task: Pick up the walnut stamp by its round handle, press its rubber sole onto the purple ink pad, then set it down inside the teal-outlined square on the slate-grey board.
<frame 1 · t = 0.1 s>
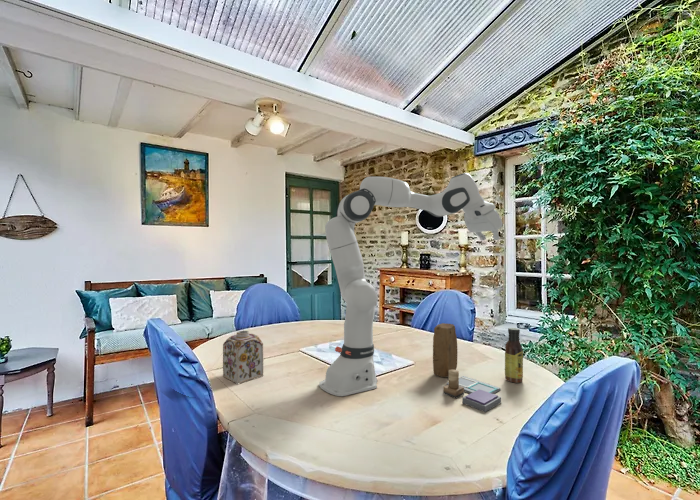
hand: (490, 239, 142), 54 cm above the table, tool tilted 30°, fingers open, 8 cm apart
block: (445, 374, 140), on the table
decorative jar: (243, 377, 137), on the table
sauce bottle: (513, 380, 132), on the table
ink pad: (481, 402, 114), on the table
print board: (472, 387, 126), on the table
stamp: (453, 393, 121), on the table
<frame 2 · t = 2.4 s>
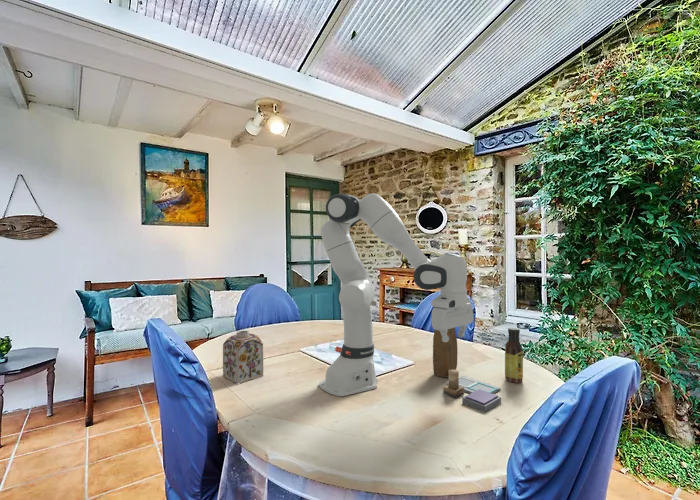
hand: (453, 339, 120), 19 cm above the table, tool pointing down, fingers open, 8 cm apart
nothing on the table moved.
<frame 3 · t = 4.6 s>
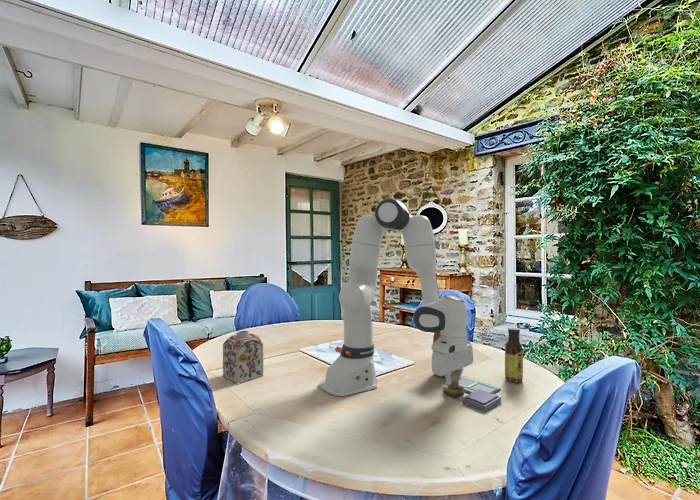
hand: (453, 382, 121), 4 cm above the table, tool pointing down, fingers closed on stamp, 3 cm apart
stamp: (453, 393, 121), on the table, touching gripper
everything else where it was.
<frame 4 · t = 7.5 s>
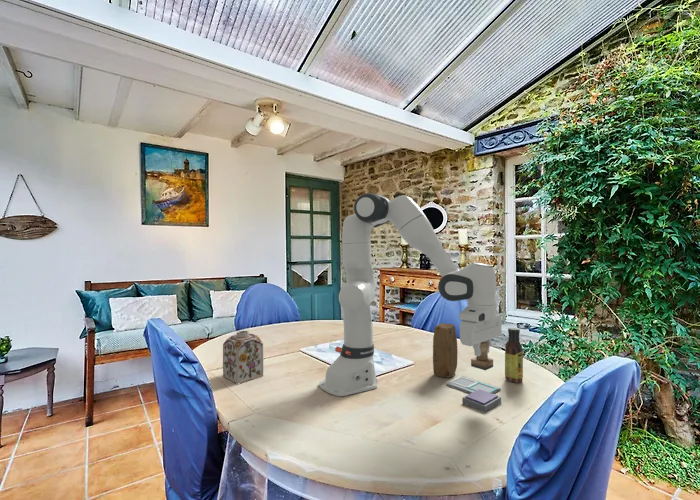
hand: (481, 354, 113), 16 cm above the table, tool pointing down, fingers closed on stamp, 3 cm apart
stamp: (482, 366, 113), point 12 cm above the table, touching gripper
everything else where it was.
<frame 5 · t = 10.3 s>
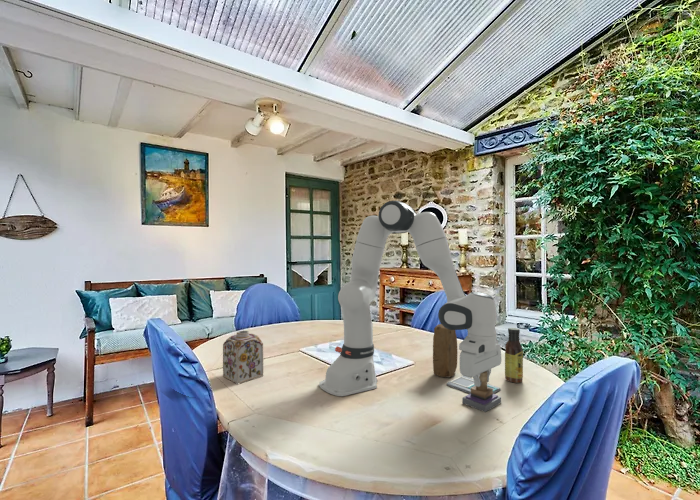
hand: (481, 383, 113), 6 cm above the table, tool pointing down, fingers closed on stamp, 3 cm apart
stamp: (481, 395, 114), point 2 cm above the table, touching gripper
everything else where it was.
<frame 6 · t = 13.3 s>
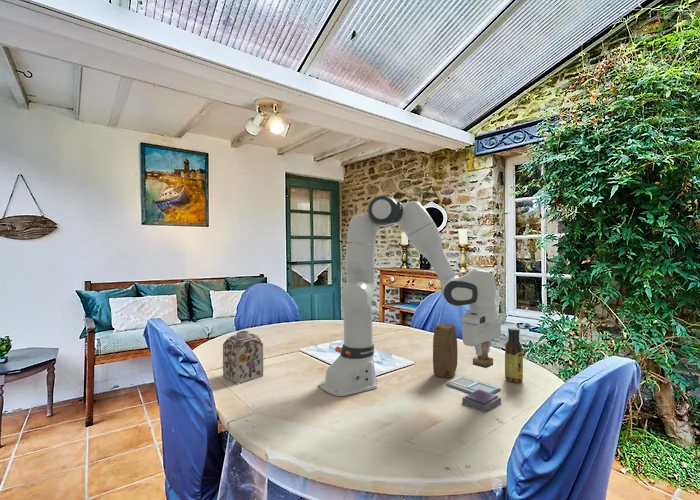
hand: (482, 353, 123), 13 cm above the table, tool pointing down, fingers closed on stamp, 3 cm apart
stamp: (482, 364, 123), point 9 cm above the table, touching gripper
everything else where it was.
when the fingers open (5 cm above the table, at t = 16.2 s): stamp stays where it is, resting on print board.
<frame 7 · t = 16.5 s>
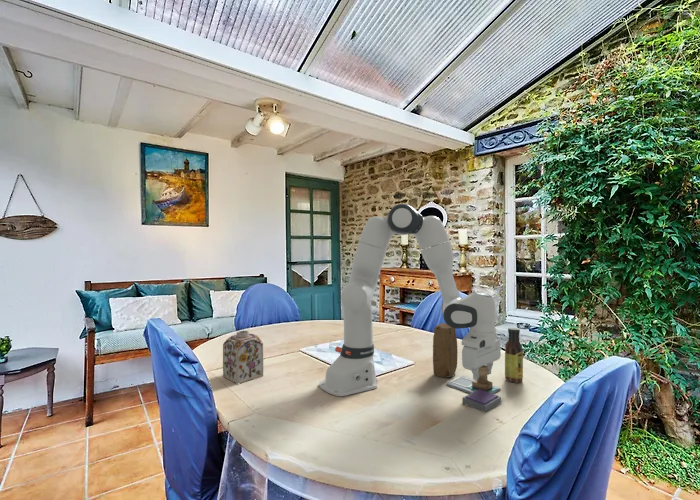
hand: (482, 376, 123), 5 cm above the table, tool pointing down, fingers open, 6 cm apart
stamp: (482, 388, 123), point 1 cm above the table, touching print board
everything else where it was.
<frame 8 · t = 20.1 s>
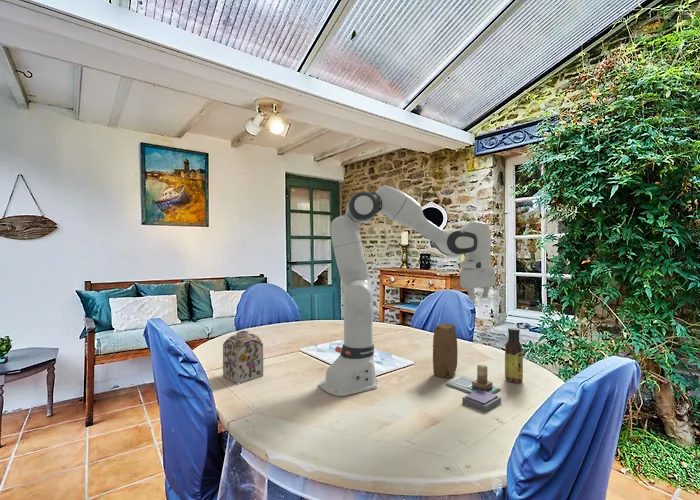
hand: (478, 298, 135), 31 cm above the table, tool pointing down, fingers open, 8 cm apart
nothing on the table moved.
at the end: stamp 0.1 cm from the target spot on the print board, point 0.8 cm above the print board's base; stamp tilted 0°; the gripper is holding nothing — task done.
